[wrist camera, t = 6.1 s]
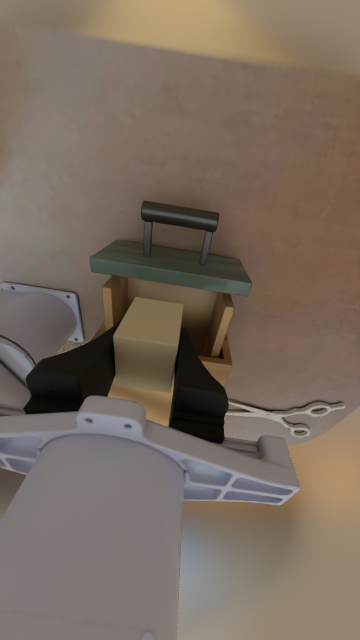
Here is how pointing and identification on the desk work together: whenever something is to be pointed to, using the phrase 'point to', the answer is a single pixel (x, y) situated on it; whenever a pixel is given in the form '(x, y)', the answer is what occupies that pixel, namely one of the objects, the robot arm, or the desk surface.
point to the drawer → (174, 276)
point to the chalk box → (148, 344)
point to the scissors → (279, 414)
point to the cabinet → (160, 401)
